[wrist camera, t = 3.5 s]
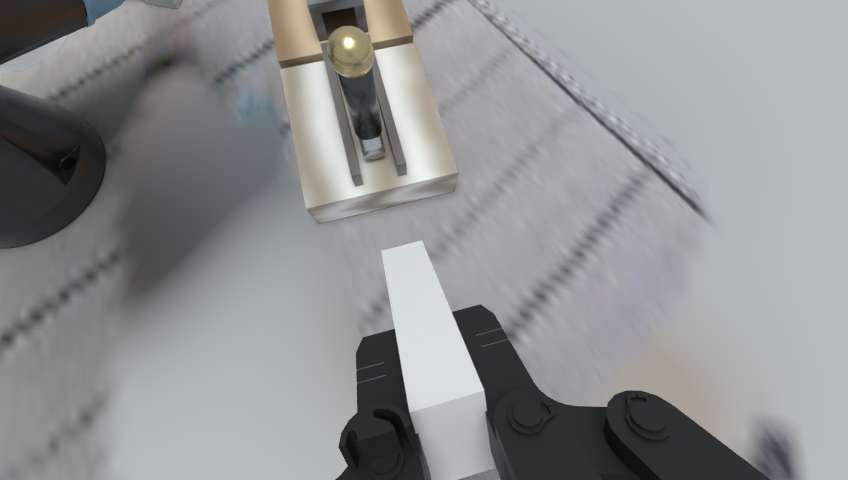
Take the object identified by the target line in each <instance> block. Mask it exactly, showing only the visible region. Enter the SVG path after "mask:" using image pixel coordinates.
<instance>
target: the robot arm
mask: <svg viewBox="0 0 848 480" xmlns="http://www.w3.org/2000/svg"><path fill="white" fill-rule="evenodd" d="M124 1H125V0H0V65H1V64H4V63H6V62H8V61H10V60H13V59H15V58H17V57H19V56H21V55H24V54H26V53H28V52H30V51H33V50H35V49H37V48H39V47H41V46H44V45H46V44H48V43H50V42H53V41H55V40H57V39H59V38H61V37H64V36H66V35H68V34H70V33H73V32H75V31H77V30H79V29H81V28H84V27H89V26H91V25H93V24H94V23H95V20H96V19H98V18H100V17H101V16H103V15H105V14H107V13H108V12H110V11H112V10H114V9H115V8H117V7H119V6H120V5H122V3H123V2H124ZM104 168H105V151H104V147H103V144H102V141H101V139H100V137H99V135H98V134H97V133H96V131H95V130H94V129H93V128H92V127H91V126H90V125H89V124H87V123H86V122H85V121H83V120H82V119H80V118H79V117H77V116H76V115H74V114H73V113H71V112H70V111H68V110H66V109H65V108H62V107H60V106H58V105H56V104H54V103H51V102H48V101H45V100H42V99H40V98H37V97H34V96H31V95H28V94H25V93H22V92H19V91H16V90H13V89H11V88H8V87H5V86H2V85H0V248H9V247H17V246H22V245H26V244H29V243H32V242H35V241H38V240H40V239H43V238H45V237H47V236H49V235H51V234H53V233H55V232H56V231H58V230H60V229H61V228H63V227H64V226H65V225H67V224H68V223H69V222H71V221H72V220H73V219H74V218H75V217H76V216H77V215H78V214H79V213H80V212H81V211H82V210H83V209H84V208H85V207H86V206H87V204H88V203H89V202H90V200H91V199H92V198H93V196H94V194H95V193H96V191H97V189H98V187H99V185H100V182H101V180H102V177H103V173H104ZM381 252H382V258H383V263H384V269H385V275H386V281H387V287H388V292H389V298H390V304H391V310H392V315H393V321H394V327H395V329H393V330H389V331H385V332H382V333H378V334H374V335H371V336H367V337H363V339H362V341H361V343H360V345H359V348H358V350H357V352H356V368H357V412H358V413H356V414H355V415H354V416H353V417H352V418H351V419H350V420H349V421H348V423H347V425H346V426H345V428H344V430H343V431H342V433H341V438H340V443H339V449H340V451H341V453H342V455H343V457H344V459H345V461H346V463H347V465H348V467H347V468H346V469H345V471H344V472H343V473H342V474H341V475H340V476H339V477H338V478H337V479H336V480H459V479H462V478H465V477H468V476H471V475H474V474H478V473H481V472H484V471H487V470H490V469H493V468H495V464H496V467H497V470H498V472H499V475H500V478H501V480H770V479H769V478H768V477H766V476H765V475H764V474H762V473H761V472H760V471H758V470H757V469H756V468H754V467H753V466H752V465H750V464H749V463H748V462H747V461H745V460H744V459H743V458H741V457H740V456H739V455H737V454H736V453H735V452H733V451H732V450H731V449H729V448H728V447H727V446H726V445H724V444H723V443H721V442H720V441H719V440H718V439H716V438H715V437H714V436H712V435H711V434H710V433H708V432H707V431H706V430H704V429H703V428H702V427H701V426H699V425H698V424H697V423H695V422H694V421H693V420H691V419H690V418H689V417H687V416H686V415H685V414H684V413H682V412H681V411H680V410H678V409H677V408H676V407H674V406H673V405H672V404H670V403H668V402H667V401H665V400H663V399H662V398H660V397H658V396H656V395H653V394H650V393H646V392H643V391H624V392H621V393H619V394H616V395H614V397H613V398H612V399H611V400H610V401H609V402H608V405H607V407H584V406H571V405H566V404H562V403H559V402H556V401H555V400H553V399H551V398H549V397H547V396H546V395H545V394H544V393H543V392H541V391H540V390H539V389H538V387H537V386H536V385H535V383H534V382H533V380H532V378H531V377H530V375H529V373H528V372H527V370H526V368H525V366H524V365H523V363H522V361H521V360H520V358H519V356H518V354H517V353H516V351H515V349H514V348H513V346H512V344H511V342H510V341H509V340H508V337H507V336H506V334H505V332H504V330H503V329H502V328H501V325H500V324H499V322H498V320H497V318H496V317H495V315H494V314H493V313H492V312H491V311H489V310H488V309H486V308H485V307H483V306H482V305H481V304H480V305H477V306H473V307H469V308H466V309H462V310H458V311H455V312H451V309H450V307H449V305H448V302H447V300H446V297H445V295H444V293H443V290H442V288H441V285H440V283H439V281H438V278H437V276H436V273H435V271H434V269H433V266H432V264H431V261H430V259H429V257H428V254H427V252H426V249H425V247H424V245H423V242H422V241H418V242H414V243H410V244H406V245H402V246H398V247H394V248H390V249H386V250H382V251H381ZM494 462H495V464H494Z"/></svg>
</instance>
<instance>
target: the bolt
mask: <svg viewBox="0 0 848 480" xmlns="http://www.w3.org/2000/svg"><path fill="white" fill-rule="evenodd" d="M327 55H328V59H329V62H330V64H331V66H332V67H333V68H334V70H335V71H336V72H337V73H338V77H339V80H340V83H341V87H342V90H343V93H344V97H345V100H346V104H347V107H348V110H349V114H350V117H351V121H352V124H353V127H354V131H355V134H356V135H357V137H358V138H359V140H360V144H361V148H362V152H363V156H364V158H366V159H369V160H373V159H378V158H380V157H382V156H383V155H384V154H385V152H386V150H385V147H384V143H383V139H382V136H381V132H382V124H381V118H380V112H379V106H378V100H377V94H376V88H375V82H374V75H373V69H372V65H373V62H374V48H373V44H372V42H371V40H370V38H369V37H368V35H367V34H366V33H365V32H364V31H362V30H361V29H359V28H357V27H354V26H343V27H340V28H338V29H336V30H335V31H334V32H333V33H332V34H331V36H330V38H329V40H328V44H327Z"/></svg>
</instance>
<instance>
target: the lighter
mask: <svg viewBox="0 0 848 480" xmlns="http://www.w3.org/2000/svg"><path fill="white" fill-rule="evenodd" d="M144 1H145V2H146V4H150V5H156V6H162V7H168V8H173V9H178V8H179V6H180V4H181V2H182V1H183V0H144Z"/></svg>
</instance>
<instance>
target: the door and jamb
mask: <svg viewBox="0 0 848 480" xmlns="http://www.w3.org/2000/svg"><path fill="white" fill-rule="evenodd" d="M267 3H268V8H269V13H270V19H271V24H272V29H273V35H274V40H275V46H276V51H277V56H278V62H279V64H280V66H281V68H282V69H280V72H281V78H282V83H283V89H284V94H285V99H286V105H287V110H288V115H289V121H290V126H291V132H292V137H293V142H294V148H295V153H296V158H297V164H298V169H299V175H300V180H301V185H302V191H303V196H304V201H305V207H306V210H307V211H308V212H309V213H310V214H311V216H312V217H313V218H314V219H315V220H316V222H317V223H318V224H321V223H325V222H329V221H333V220H337V219H341V218H345V217H349V216H353V215H358V214H362V213H366V212H370V211H374V210H378V209H382V208H386V207H391V206H395V205H399V204H403V203H407V202H411V201H415V200H419V199H423V198H428V197H432V196H436V195H440V194H444V193H448V192H452V191H454V189H455V185H456V181H457V177H458V169H457V166H456V163H455V160H454V157H453V154H452V151H451V148H450V145H449V142H448V139H447V136H446V133H445V130H444V127H443V124H442V121H441V118H440V115H439V112H438V109H437V106H436V103H435V100H434V97H433V94H432V91H431V88H430V85H429V82H428V79H427V76H426V73H425V70H424V67H423V64H422V61H421V58H420V55H419V52H418V49H417V46H416V43H415V42H414V43H413V34H412V31H411V28H410V25H409V22H408V19H407V16H406V13H405V10H404V7H403V4H402V1H401V0H267ZM343 26H354V27H357V28H359V29H361V30H362V31H364V32H365V33H366V34H367V35H368V37H369V38H370V40H371V42H372V44H373V48H374V62H373V65H372V69H373V75H374V82H375V88H376V94H377V100H378V106H379V112H380V118H381V124H382V132H381V136H382V139H383V143H384V147H385V150H386V152H385V154H384V155H383V156H382V157H380V158H378V159H373V160H369V159H366V158H364V156H363V152H362V148H361V144H360V140H359V138H358V137H357V135H356V134H355V131H354V127H353V124H352V121H351V117H350V114H349V110H348V107H347V104H346V100H345V97H344V93H343V90H342V87H341V83H340V80H339V77H338V73H337V72H336V71H335V70H334V68H333V67H332V66H331V64H330V62H329V59H328V55H327V44H328V40H329V38H330V36H331V34H332V33H333V32H334V31H335V30H336V29H338V28H340V27H343Z"/></svg>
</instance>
